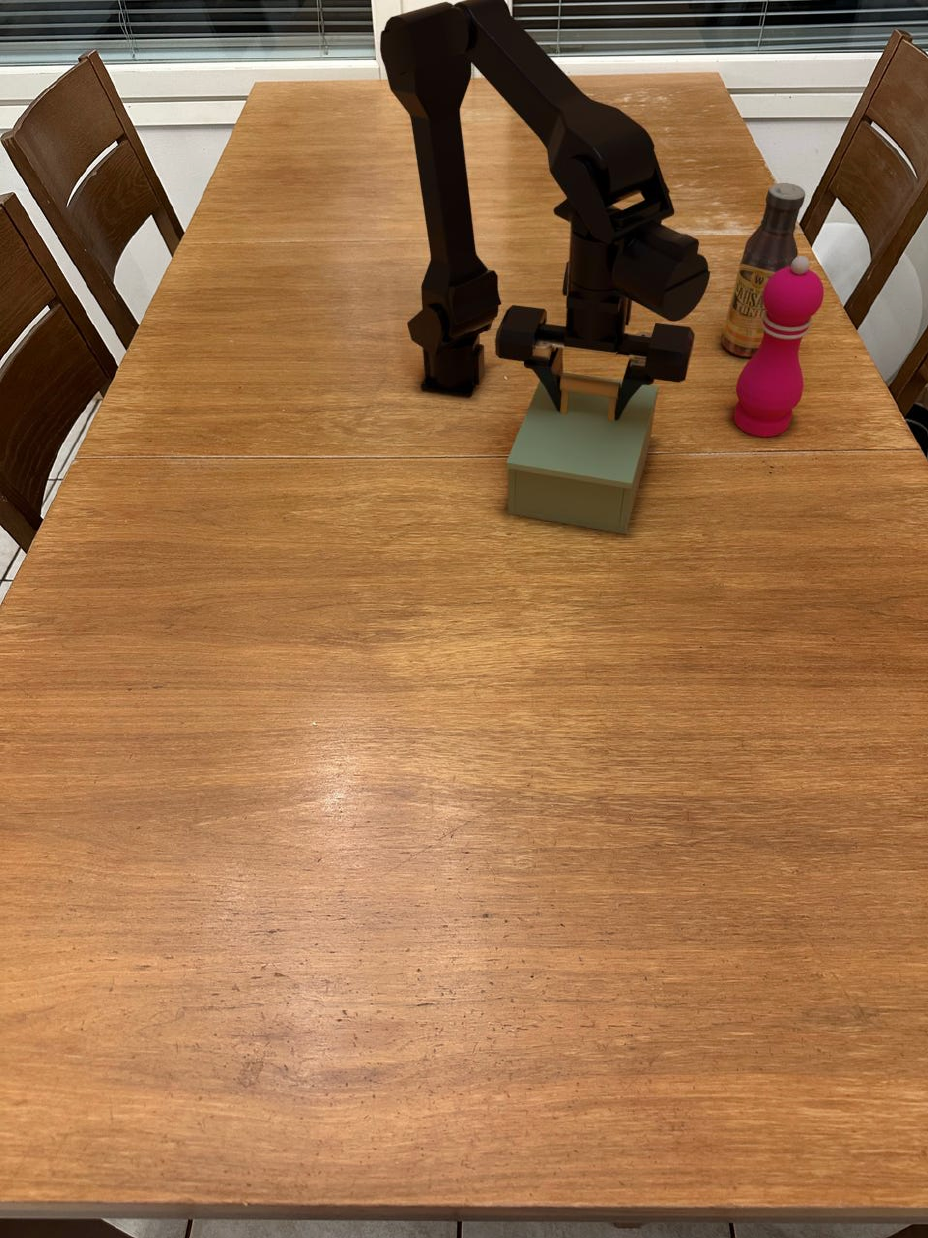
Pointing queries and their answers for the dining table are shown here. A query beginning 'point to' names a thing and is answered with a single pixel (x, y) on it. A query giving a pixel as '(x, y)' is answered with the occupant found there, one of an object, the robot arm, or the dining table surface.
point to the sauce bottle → (762, 268)
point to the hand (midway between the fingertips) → (588, 413)
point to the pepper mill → (778, 351)
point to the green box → (575, 497)
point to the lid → (584, 432)
